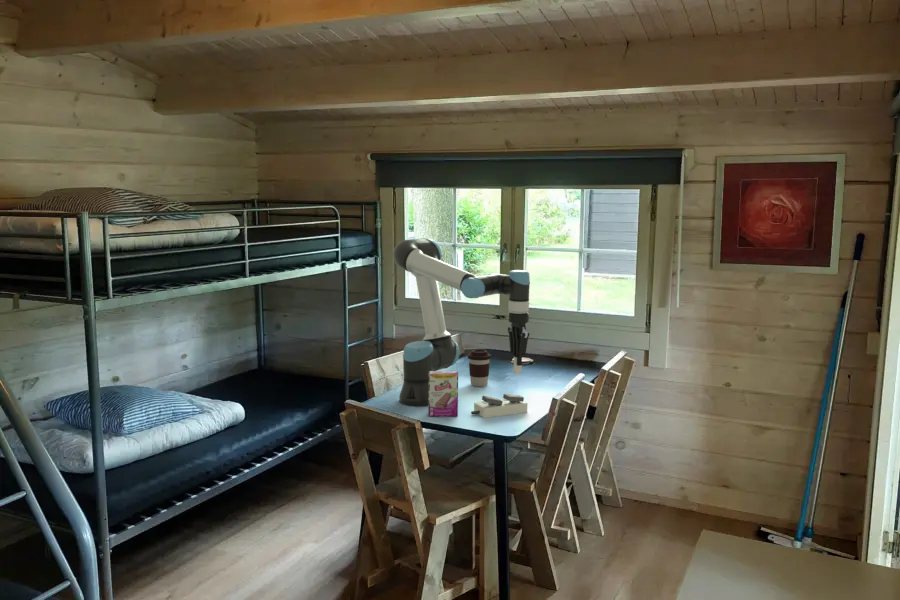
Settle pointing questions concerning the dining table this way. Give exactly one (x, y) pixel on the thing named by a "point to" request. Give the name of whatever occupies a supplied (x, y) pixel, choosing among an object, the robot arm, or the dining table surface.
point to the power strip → (499, 408)
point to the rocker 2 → (513, 397)
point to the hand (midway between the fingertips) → (517, 373)
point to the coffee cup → (479, 367)
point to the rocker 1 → (492, 400)
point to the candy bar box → (443, 393)
